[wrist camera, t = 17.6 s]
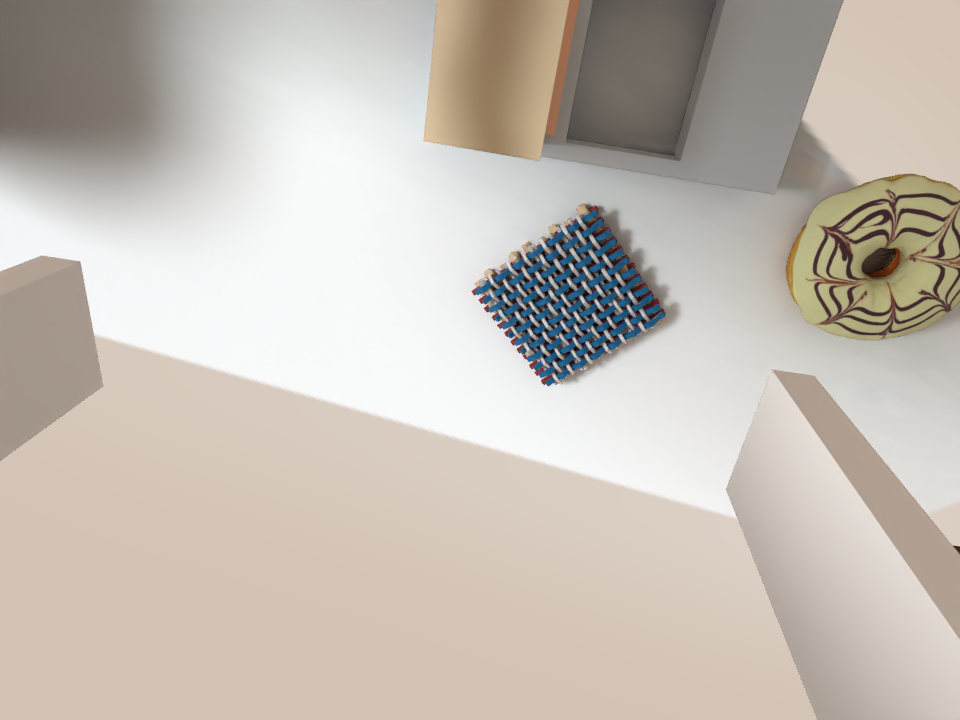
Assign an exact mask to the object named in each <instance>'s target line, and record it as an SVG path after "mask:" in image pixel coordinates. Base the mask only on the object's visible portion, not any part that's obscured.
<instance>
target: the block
mask: <svg viewBox="0 0 960 720" xmlns="http://www.w3.org/2000/svg"><path fill="white" fill-rule="evenodd" d="M569 2H570V0H437V10H436V20H435V30H434V40H433V51H432V61H431V71H430V81H429V91H428V101H427V111H426V121H425V131H424V141H426V142H432V143H438V144H444V145H449V146H455V147H461V148H467V149H473V150H479V151H484V152H490V153H496V154H502V155H508V156H514V157H519V158H525V159H531V160H537V161H540V158H541V153H542V148H543V143H544V138H545V132H546V127H547V121H548V116H549V111H550V105H551V100H552V94H553V89H554V83H555V78H556V73H557V67H558V62H559V56H560V51H561V45H562V40H563V35H564V29H565V24H566V18H567V13H568V7H569Z"/></svg>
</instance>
